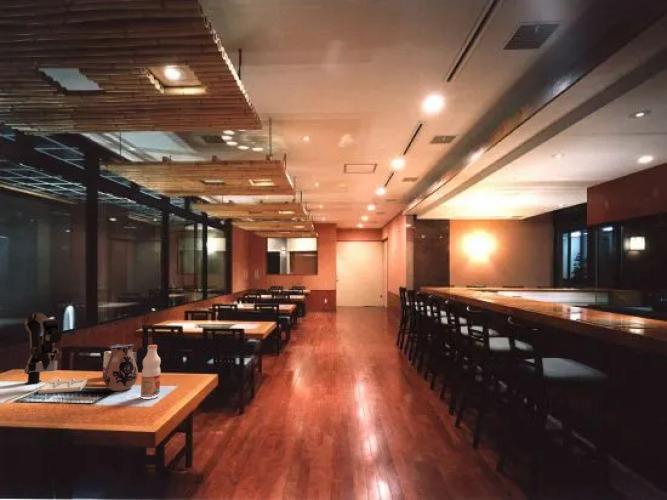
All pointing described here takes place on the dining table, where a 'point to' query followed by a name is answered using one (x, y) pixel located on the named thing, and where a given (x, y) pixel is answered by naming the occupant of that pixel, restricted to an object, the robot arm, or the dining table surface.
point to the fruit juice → (151, 373)
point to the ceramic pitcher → (121, 368)
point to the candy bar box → (106, 360)
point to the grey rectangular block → (51, 367)
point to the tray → (62, 386)
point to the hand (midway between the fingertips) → (46, 368)
